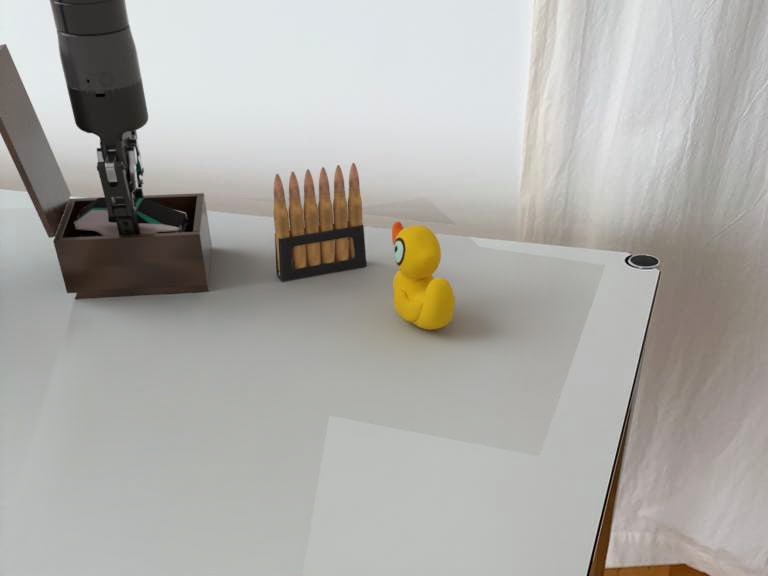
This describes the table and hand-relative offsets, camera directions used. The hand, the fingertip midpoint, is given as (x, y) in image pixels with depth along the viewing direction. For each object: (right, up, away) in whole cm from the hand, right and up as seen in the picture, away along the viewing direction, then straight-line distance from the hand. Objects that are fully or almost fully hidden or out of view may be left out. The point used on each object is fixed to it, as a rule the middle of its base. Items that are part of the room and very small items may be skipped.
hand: (135, 233), depth 103 cm
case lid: (-9, +7, -8) cm, 14 cm away
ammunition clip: (+21, -3, +4) cm, 22 cm away
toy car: (0, -1, +1) cm, 2 cm away
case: (0, -3, +3) cm, 5 cm away
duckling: (+33, -11, -5) cm, 35 cm away
